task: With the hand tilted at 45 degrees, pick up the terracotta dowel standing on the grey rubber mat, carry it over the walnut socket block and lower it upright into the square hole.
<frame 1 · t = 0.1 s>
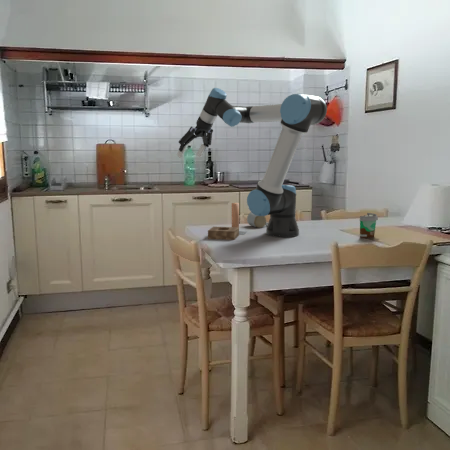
hand: (189, 156, 236), 36 cm above the table, tool tilted 35°, fingers open, 13 cm apart
food container: (369, 237, 213), on the table
mat: (235, 233, 223), on the table
socket block: (223, 237, 213), on the table
dowel: (235, 232, 223), resting on mat
ceramic mug: (259, 227, 241), on the table
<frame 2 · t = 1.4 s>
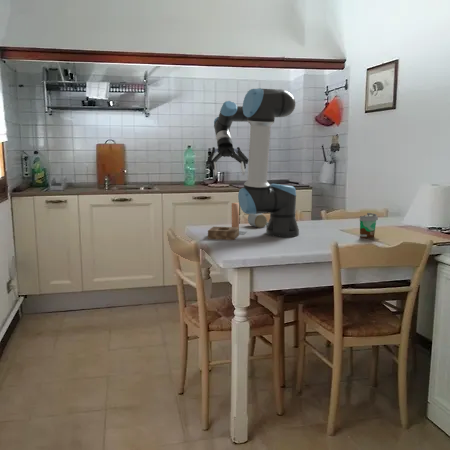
hand: (230, 173, 227), 27 cm above the table, tool tilted 45°, fingers open, 13 cm apart
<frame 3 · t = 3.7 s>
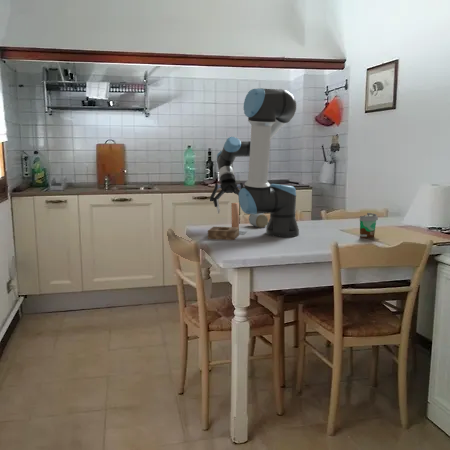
hand: (232, 211, 224), 10 cm above the table, tool tilted 45°, fingers open, 13 cm apart
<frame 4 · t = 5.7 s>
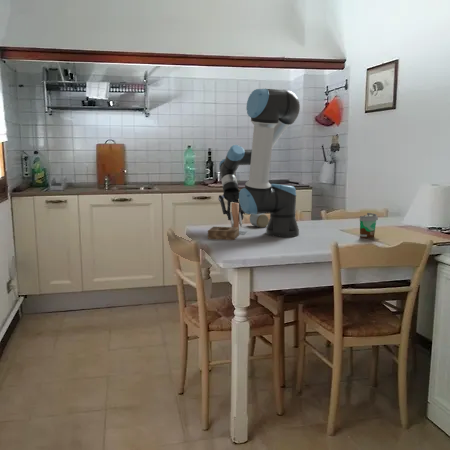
hand: (236, 225, 219), 5 cm above the table, tool tilted 45°, fingers closed on dowel, 3 cm apart
dowel: (235, 232, 223), resting on mat, touching gripper
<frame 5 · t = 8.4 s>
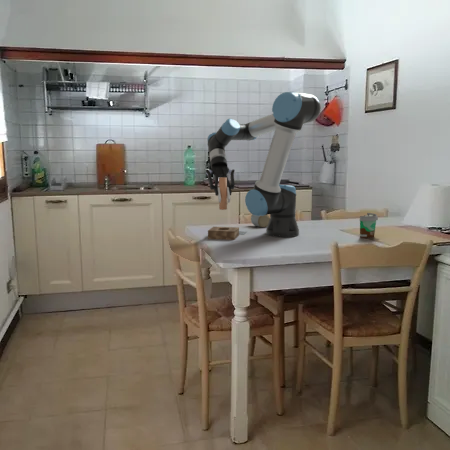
hand: (224, 200, 207), 17 cm above the table, tool tilted 45°, fingers closed on dowel, 3 cm apart
dowel: (223, 209, 211), point 13 cm above the table, touching gripper
when the fingers open (6 cm above the table, at t = 11.0 s): dowel drops 2 cm, resting in socket block.
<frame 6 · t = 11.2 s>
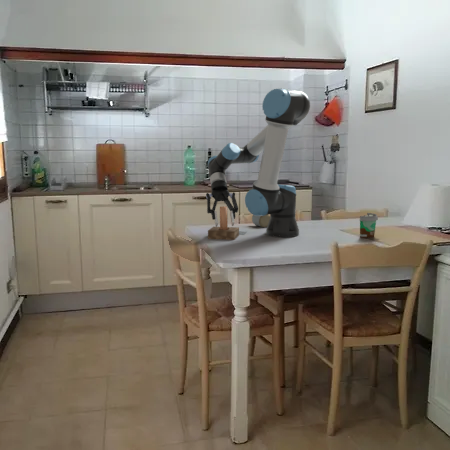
hand: (225, 224, 209), 7 cm above the table, tool tilted 45°, fingers open, 7 cm apart
dowel: (223, 237, 213), resting in socket block
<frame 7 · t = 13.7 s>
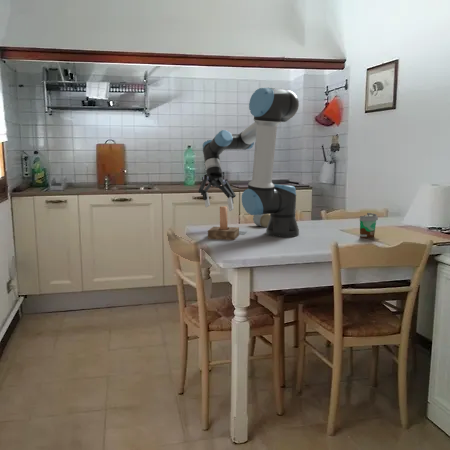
hand: (219, 208, 225), 12 cm above the table, tool tilted 35°, fingers open, 13 cm apart
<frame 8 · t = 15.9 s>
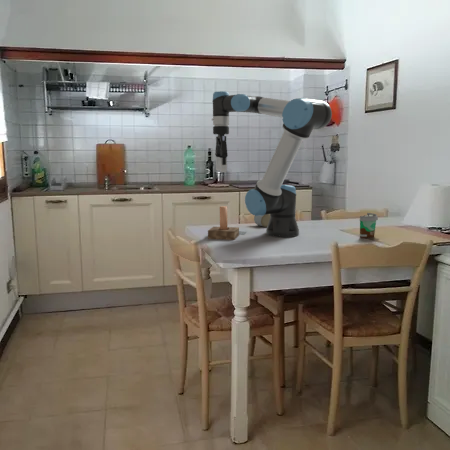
hand: (221, 171, 226), 29 cm above the table, tool pointing down, fingers open, 13 cm apart
at the end: dowel 0.1 cm off-centre on the socket block, point 0.0 cm above the socket block's base; dowel tilted 0°; the gripper is holding nothing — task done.
